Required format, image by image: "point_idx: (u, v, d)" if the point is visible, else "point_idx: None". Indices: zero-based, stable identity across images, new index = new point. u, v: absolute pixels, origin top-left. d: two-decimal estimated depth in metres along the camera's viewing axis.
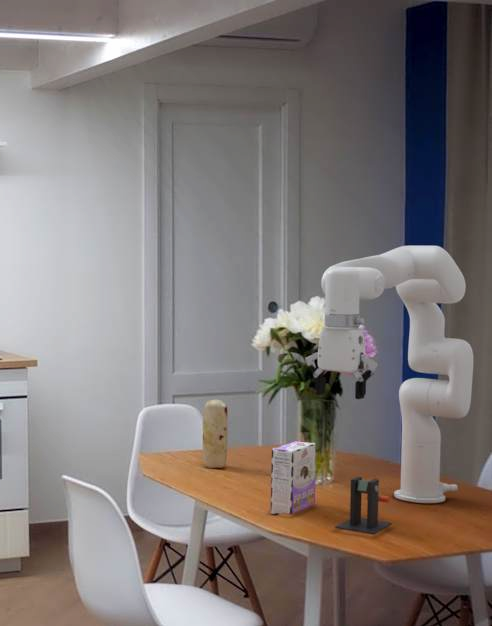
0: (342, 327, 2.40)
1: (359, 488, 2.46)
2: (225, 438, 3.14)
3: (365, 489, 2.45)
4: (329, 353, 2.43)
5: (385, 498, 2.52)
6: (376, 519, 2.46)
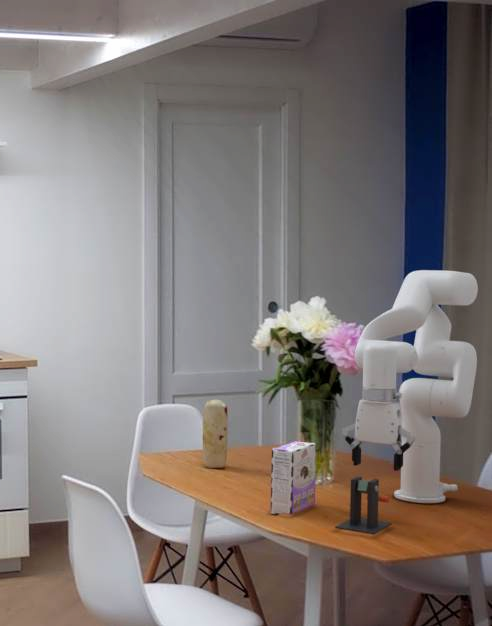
0: (382, 401, 2.48)
1: (359, 488, 2.46)
2: (225, 438, 3.14)
3: (365, 489, 2.45)
4: (367, 426, 2.52)
5: (385, 498, 2.52)
6: (376, 519, 2.46)
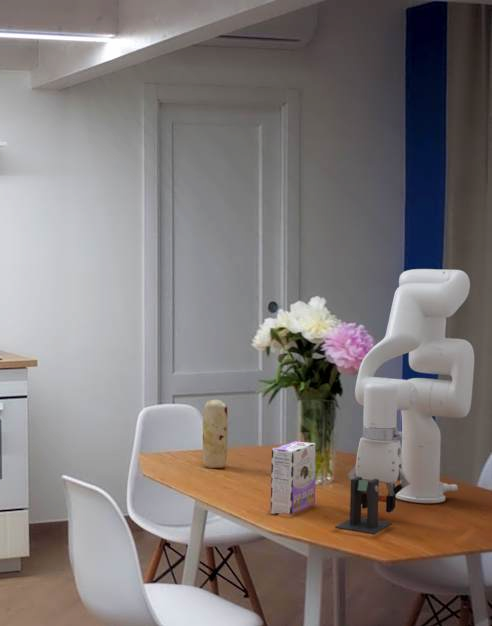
0: (382, 440, 2.49)
1: (359, 488, 2.46)
2: (225, 438, 3.14)
3: (365, 489, 2.45)
4: (368, 464, 2.52)
5: (385, 498, 2.52)
6: (376, 519, 2.46)
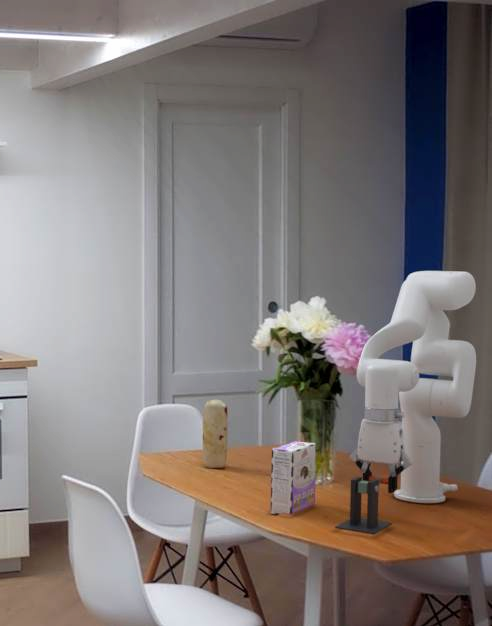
0: (384, 421, 2.50)
1: (359, 491, 2.46)
2: (225, 438, 3.14)
3: (365, 492, 2.45)
4: (370, 445, 2.53)
5: (387, 482, 2.52)
6: (376, 519, 2.46)
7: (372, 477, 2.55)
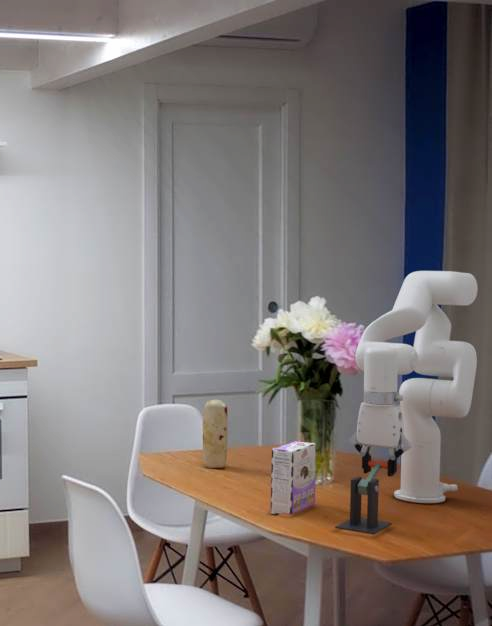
0: (383, 404, 2.49)
1: (360, 492, 2.46)
2: (225, 438, 3.14)
3: (366, 493, 2.45)
4: (369, 429, 2.52)
5: (386, 467, 2.52)
6: (376, 519, 2.46)
7: (371, 462, 2.54)
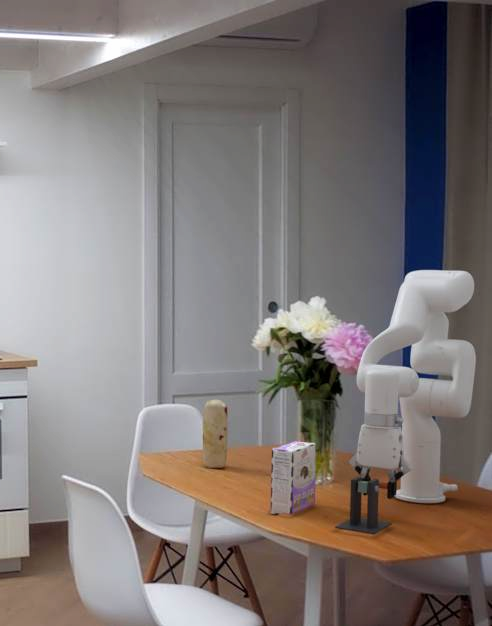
0: (383, 426, 2.50)
1: (359, 490, 2.46)
2: (225, 438, 3.14)
3: (365, 491, 2.45)
4: (369, 450, 2.53)
5: None
6: (376, 519, 2.46)
7: None
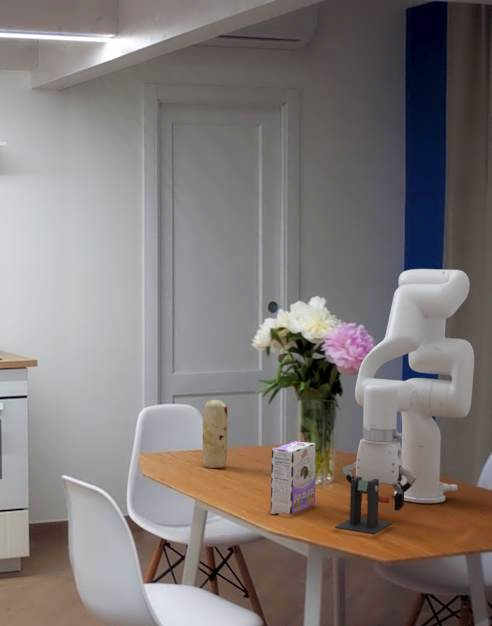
0: (382, 442, 2.49)
1: (359, 488, 2.46)
2: (225, 438, 3.14)
3: (365, 489, 2.45)
4: (368, 465, 2.52)
5: (385, 499, 2.52)
6: (376, 519, 2.46)
7: None
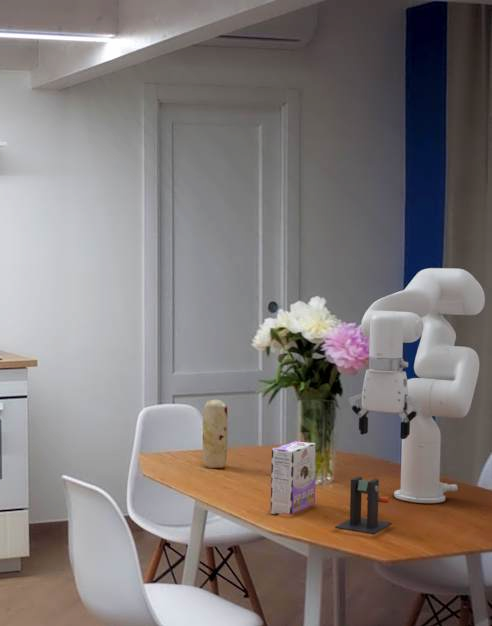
0: (388, 370, 2.51)
1: (359, 488, 2.46)
2: (225, 438, 3.14)
3: (365, 489, 2.45)
4: (374, 395, 2.54)
5: (385, 499, 2.52)
6: (376, 519, 2.46)
7: None
